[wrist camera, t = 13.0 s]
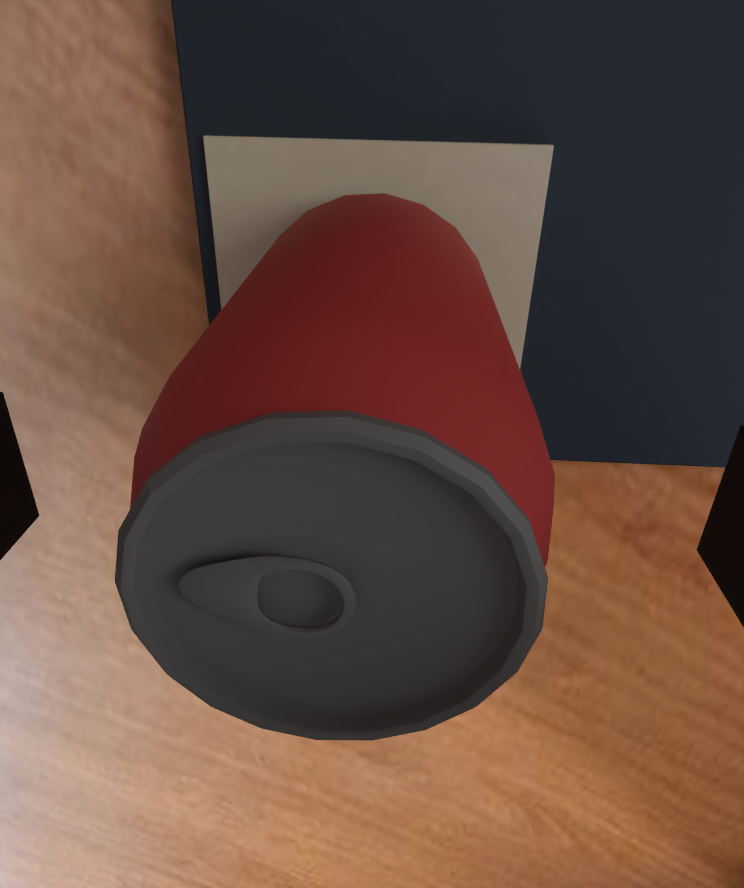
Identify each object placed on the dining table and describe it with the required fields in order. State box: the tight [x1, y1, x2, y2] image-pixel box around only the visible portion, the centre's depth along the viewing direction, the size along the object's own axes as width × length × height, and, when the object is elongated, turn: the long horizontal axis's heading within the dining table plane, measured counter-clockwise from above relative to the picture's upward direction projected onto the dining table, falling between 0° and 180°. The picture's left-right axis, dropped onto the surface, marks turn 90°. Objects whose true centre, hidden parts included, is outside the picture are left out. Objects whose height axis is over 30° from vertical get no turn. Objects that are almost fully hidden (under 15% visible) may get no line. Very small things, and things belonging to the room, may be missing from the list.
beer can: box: [115, 193, 555, 740], centre depth 13 cm, size 7×7×12 cm
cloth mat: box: [171, 0, 744, 467], centre depth 17 cm, size 22×16×1 cm
